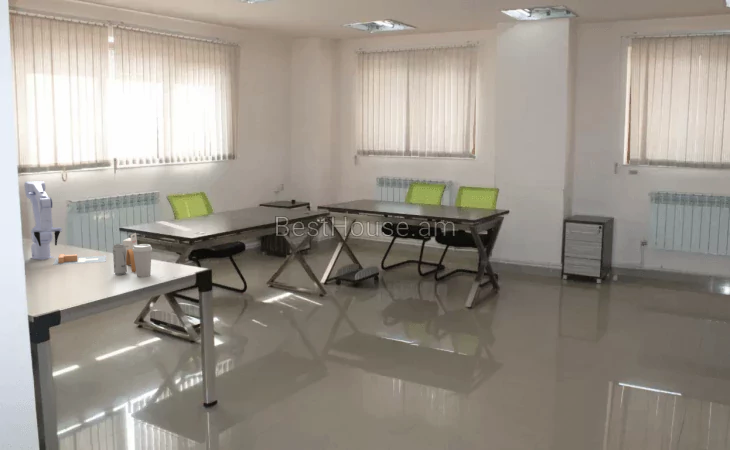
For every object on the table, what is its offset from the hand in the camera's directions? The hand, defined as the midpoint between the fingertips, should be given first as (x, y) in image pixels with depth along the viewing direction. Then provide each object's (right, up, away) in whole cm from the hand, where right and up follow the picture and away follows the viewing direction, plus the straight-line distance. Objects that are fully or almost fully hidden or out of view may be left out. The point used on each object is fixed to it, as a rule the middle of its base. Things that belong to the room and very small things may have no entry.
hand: (48, 245), depth 353 cm
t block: (+9, -8, +5) cm, 13 cm away
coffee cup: (+60, -14, -26) cm, 67 cm away
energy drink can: (+47, -14, -23) cm, 54 cm away
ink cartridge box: (+41, -9, +10) cm, 43 cm away
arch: (+50, -12, -9) cm, 52 cm away
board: (+14, -9, +7) cm, 18 cm away
